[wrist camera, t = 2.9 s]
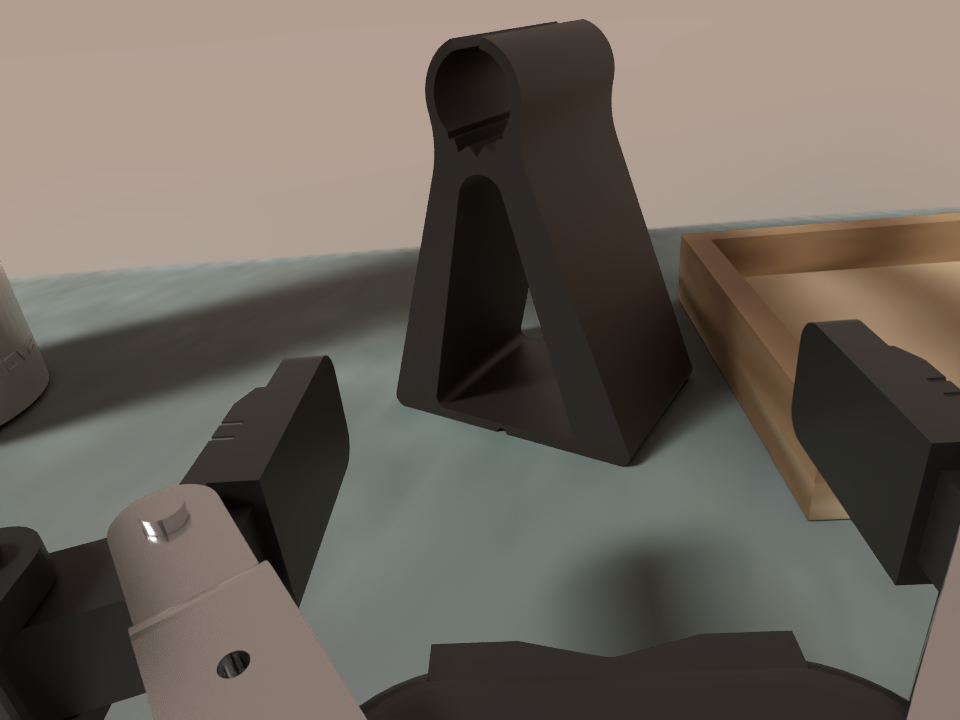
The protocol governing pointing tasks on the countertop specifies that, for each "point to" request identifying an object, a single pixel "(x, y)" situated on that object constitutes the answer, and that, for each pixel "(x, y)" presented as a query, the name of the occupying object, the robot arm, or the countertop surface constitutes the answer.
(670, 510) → the countertop surface
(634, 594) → the countertop surface
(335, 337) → the countertop surface
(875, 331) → the shallow tray
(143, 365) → the countertop surface
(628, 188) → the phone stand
